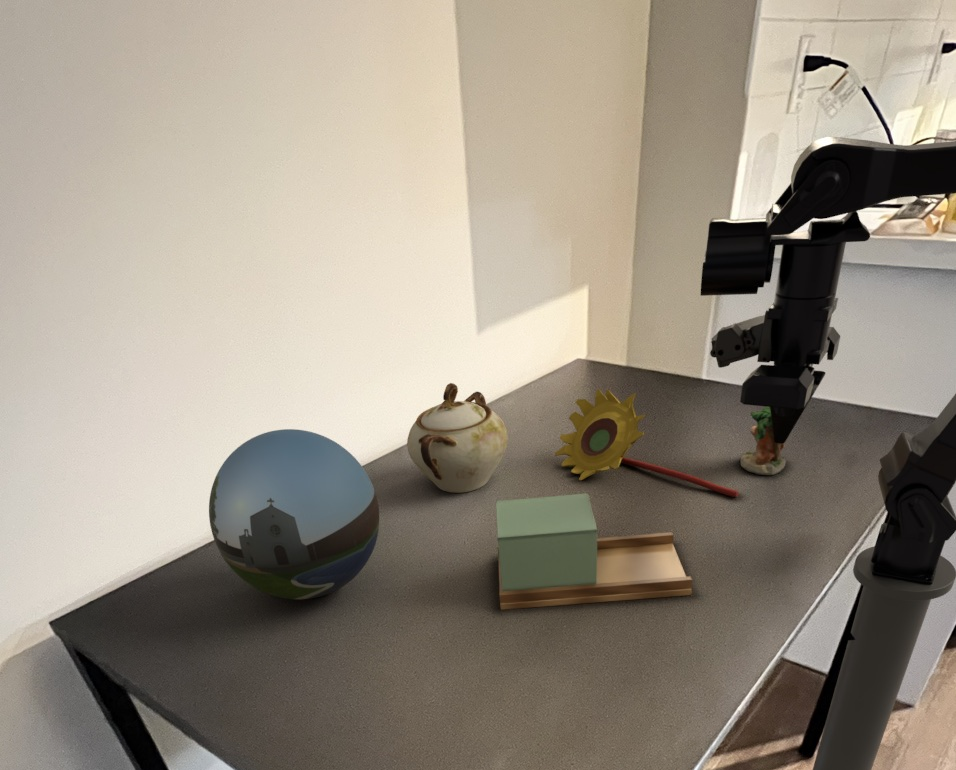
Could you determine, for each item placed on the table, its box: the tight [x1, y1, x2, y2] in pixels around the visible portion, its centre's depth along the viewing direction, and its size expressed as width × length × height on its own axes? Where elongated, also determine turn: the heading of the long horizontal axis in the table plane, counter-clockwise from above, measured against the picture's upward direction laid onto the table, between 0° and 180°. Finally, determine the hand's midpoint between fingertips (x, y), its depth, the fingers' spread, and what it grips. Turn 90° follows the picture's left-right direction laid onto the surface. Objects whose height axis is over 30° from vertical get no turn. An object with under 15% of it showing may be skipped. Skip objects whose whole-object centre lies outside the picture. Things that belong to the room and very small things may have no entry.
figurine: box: [740, 406, 787, 476], centre depth 104 cm, size 9×8×15 cm
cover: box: [495, 492, 598, 591], centre depth 88 cm, size 11×9×8 cm
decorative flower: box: [554, 388, 740, 498], centre depth 108 cm, size 13×8×30 cm
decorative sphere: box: [208, 428, 380, 600], centre depth 88 cm, size 20×20×20 cm
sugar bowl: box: [406, 382, 509, 494], centre depth 110 cm, size 20×15×15 cm
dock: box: [497, 531, 693, 611], centre depth 90 cm, size 22×12×2 cm, turn 90°
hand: (779, 442), depth 85 cm, fingers closed
